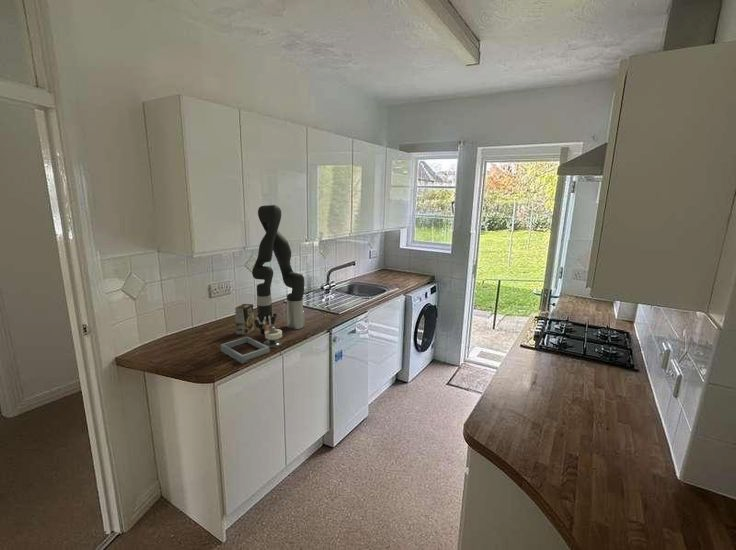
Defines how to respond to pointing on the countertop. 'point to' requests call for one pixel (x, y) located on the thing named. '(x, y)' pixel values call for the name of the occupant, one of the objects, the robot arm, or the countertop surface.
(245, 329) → the coffee box
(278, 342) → the stake
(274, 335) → the ring
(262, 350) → the tray
